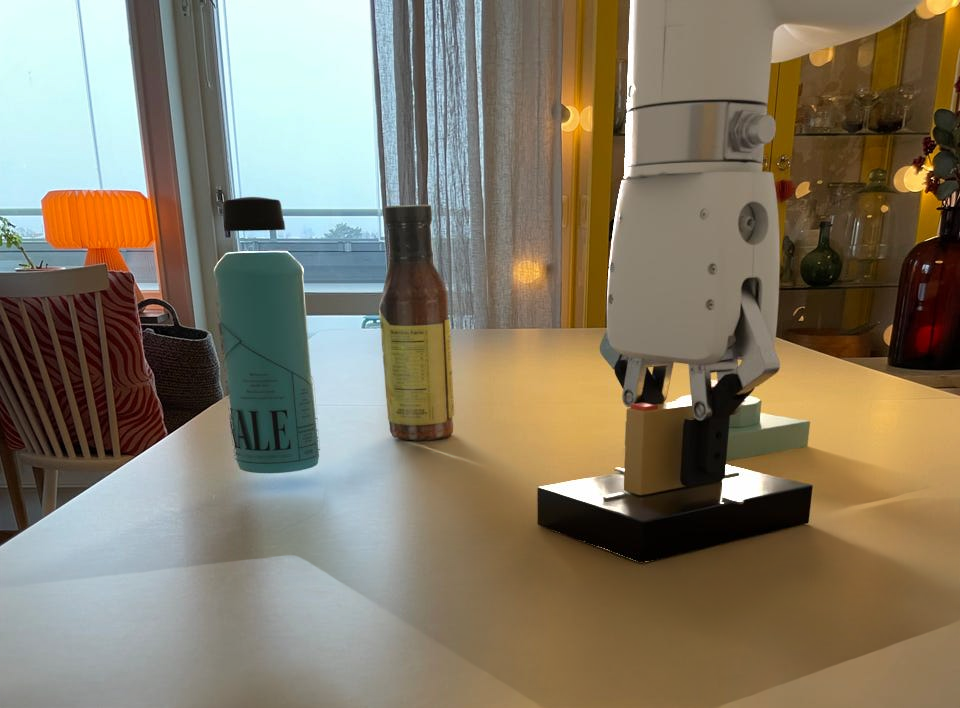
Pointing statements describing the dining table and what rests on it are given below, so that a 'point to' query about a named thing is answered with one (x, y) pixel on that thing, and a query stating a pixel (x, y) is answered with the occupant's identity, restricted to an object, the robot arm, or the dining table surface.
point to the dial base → (672, 512)
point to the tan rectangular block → (654, 446)
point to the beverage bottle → (266, 347)
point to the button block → (761, 431)
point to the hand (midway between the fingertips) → (674, 473)
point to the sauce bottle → (415, 331)
